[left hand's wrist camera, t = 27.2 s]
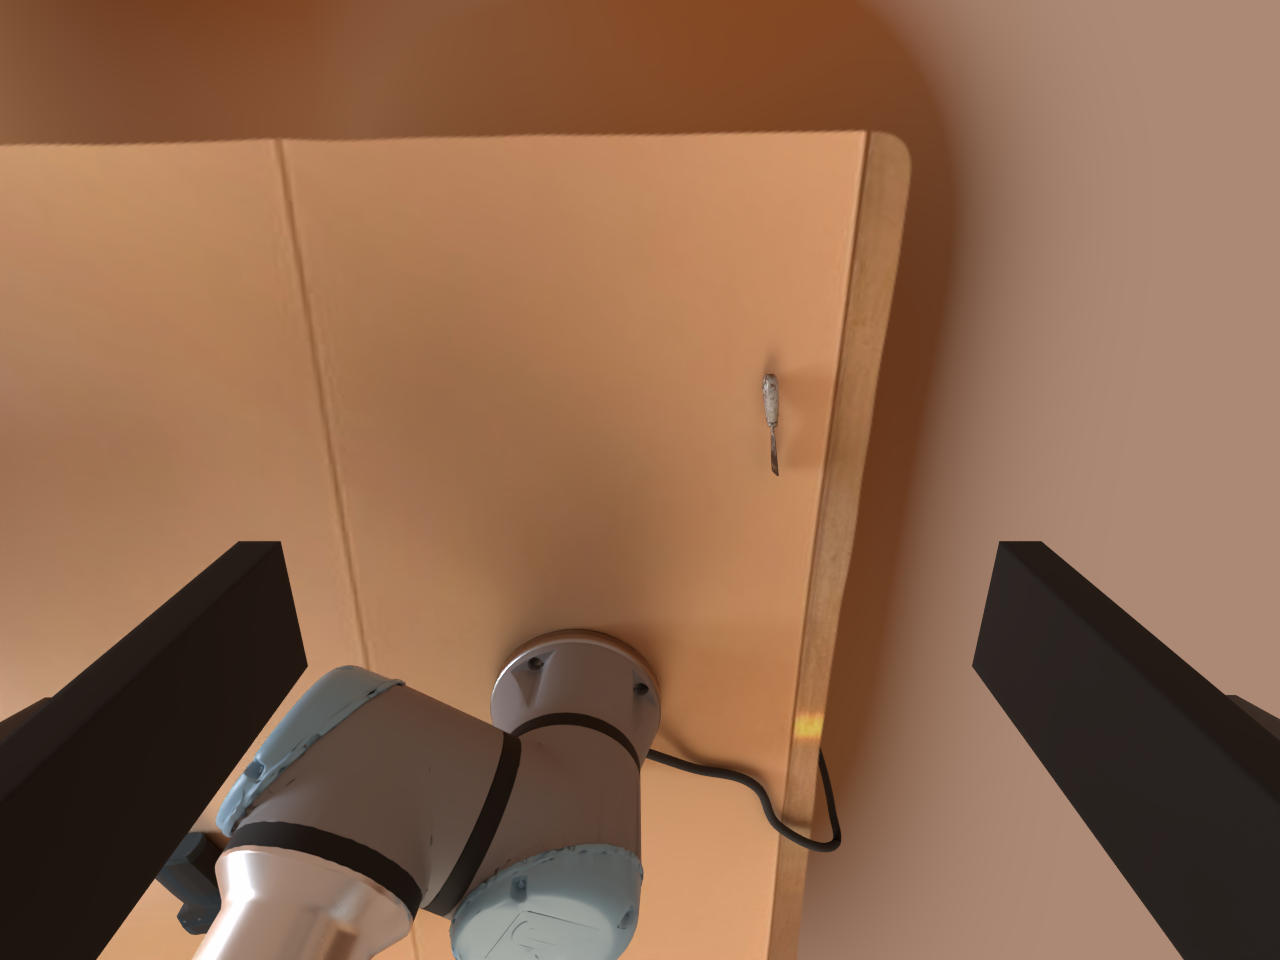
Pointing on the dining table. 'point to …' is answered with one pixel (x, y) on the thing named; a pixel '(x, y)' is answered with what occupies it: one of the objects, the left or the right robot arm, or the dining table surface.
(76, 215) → the dining table surface
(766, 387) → the putty knife
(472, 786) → the left robot arm
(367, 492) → the dining table surface
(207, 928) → the handgun
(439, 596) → the dining table surface
